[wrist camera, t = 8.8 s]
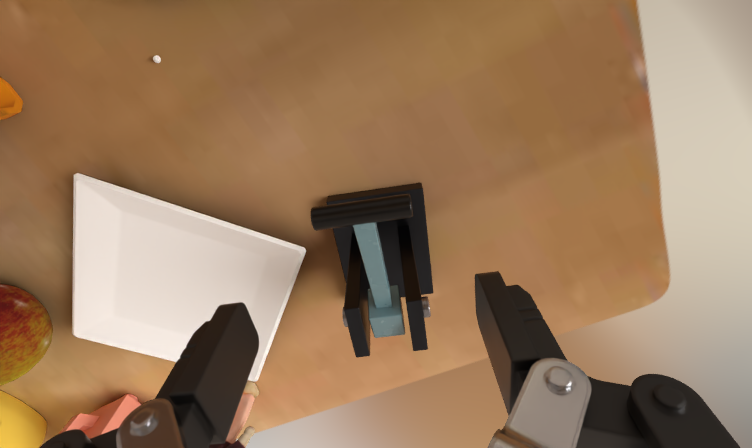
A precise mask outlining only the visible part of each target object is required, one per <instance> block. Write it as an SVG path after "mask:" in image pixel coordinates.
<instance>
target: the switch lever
mask: <svg viewBox="0 0 752 448" xmlns="http://www.w3.org/2000/svg"><path fill="white" fill-rule="evenodd" d="M412 216H413V212H412V204H411V197H410V194H402V195H395V196H388V197H381V198H374V199H367V200H360V201H353V202H346V203H340V204H333V205H326V206H319V207H313V208H312V209H311V222H312V226H313V228H314V230H316V231H318V230H325V229H332V228H339V227H347V226H353V228H354V231H355V235H356V239H357V242H358V246H359V249H360V253H361V256H362V260H363V263H364V267H365V270H366V274H367V277H368V281H369V285H370V289H368V290H367V293H368V316H369V321H370V325H371V328H372V331H373V334H374V337H375V338H379V337H387V336H396V335H404V334H405V327H404V318H403V309H402V302H401V297H400V291H399V286H398V285H394V286H389V281H388V276H387V272H386V267H385V262H384V257H383V253H382V248H381V243H380V239H379V234H378V229H377V224H376V222H383V221H390V220H397V219H404V218H411V217H412Z"/></svg>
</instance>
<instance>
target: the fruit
mask: <svg viewBox="0 0 752 448" xmlns="http://www.w3.org/2000/svg"><path fill="white" fill-rule="evenodd" d="M52 333H53V328H52V323H51V320H50V317H49V315H48V312H47V310H46V309H45V307H44V306H43V305H42V304H41V303H40V302H39V301H38V300H37V299H36V298H35V297H34V296H33V295H31V294H29V293H28V292H26V291H25V290H22V289H20V288H17V287H14V286H10V285H5V284H0V386H1V385H4V384H6V383H9V382H11V381H14V380H15V379H17V378H19V377H20V376H22V375H24V374H25V373H27V372H28V371H29V370H30V369H32V368H33V367H34V366H35V365H36V364H37V363H38V362H39V361H40V360H41V358H42V357H43V356H44V355H45V353H46V351H47V350H48V347H49V345H50V343H51V340H52Z"/></svg>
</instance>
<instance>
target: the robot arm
mask: <svg viewBox="0 0 752 448" xmlns="http://www.w3.org/2000/svg"><path fill="white" fill-rule="evenodd" d="M475 297H476V315H477V320H478V325H479V328H480V331H481V334H482V337H483V340H484V343H485V346H486V349H487V352H488V355H489V358H490V361H491V364H492V367H493V370H494V373H495V376H496V379H497V382H498V385H499V388H500V391H501V394H502V397H503V400H504V403H505V406H506V409H507V412H508V415H509V417H508V420H507V422H506V424H505V426H504V428H503V429H502V430H500V429H498V430H497V431H496V433H495V434H494V436H493V437H492V440H491V441H490V444H489V446H488V448H740V447H739V445H738V444H737V443H736V441H735V440H734V439H733V438H732V436H731V435H730V434H729V432H728V431H727V430H726V429H725V427H724V426H723V425H722V424H721V422H720V421H719V420H718V419H717V417H716V416H715V415H714V413H713V412H712V411H711V410H710V408H709V407H708V406H707V405H706V403H705V402H704V401H703V399H702V398H701V397H700V396H699V395H698V394H697V393H696V392H695V391H694V390H693V389H691V388H690V387H689V386H687V385H685V384H684V383H682V382H680V381H678V380H676V379H674V378H671V377H668V376H664V375H658V374H646V375H642V376H639V377H638V378H636V379H635V380H634V381H633V383H632V385H631V386H628V385H622V384H616V383H610V382H604V381H600V380H596V379H593V378H591V377H588V376H586V374H585V373H584V372H583V371H582V370H581V369H580V368H579V367H577V366H576V365H574V364H572V363H570V362H568V361H567V359H566V358H565V356H564V354H563V352H562V350H561V349H560V347H559V345H558V343H557V342H556V340H555V338H554V336H553V334H552V333H551V331H550V329H549V327H548V326H547V324H546V322H545V320H544V319H543V317H542V315H541V313H540V311H539V309H537V306H536V304H535V302H534V301H533V299H532V297H531V295H530V294H529V293H528V292H526V291H525V290H524V289H522V288H521V287H520V286H519V285H512V286H506V285H505V283H504V281H503V279H502V277H501V275H500V273H499V272H498V271H497V272H488V273H480V274H476V275H475ZM258 349H259V336H258V333H257V330H256V328H255V326H254V324H253V321H252V319H251V317H250V314H249V312H248V310H247V307H246V305H245V304H244V303H242V302H239V303H231V304H223V305H220V306H218V308H217V309H216V311H215V313H214V315H213V317H212V318H211V320H210V321H206V322H205V323H204V324H203V325H202V326H201V327H200V328H198V329H197V330H196V331H195V332H194V333H193V335H192V337H191V338H190V340H189V342H188V344H187V345H186V348H185V349H184V350H183V352H182V354H181V355H180V359H178V361H177V362H176V364H175V366H174V367H173V369H172V371H171V372H170V374H169V376H168V378H167V379H166V381H165V383H164V384H163V386H162V388H161V389H160V391H159V393H158V394H157V396H156V398H155V399H153V400H150V401H148V402H145V403H143V404H142V405H140V406H138V407H137V408H136V409H134V410H133V411H132V412H131V413H130V414H129V415H128V416H127V417H126V418H125V419H124V420H123V422H122V423H121V425H120V426H119V428H117V429H114V430H112V431H109V432H106V433H104V434H101V435H99V436H96V437H93V438H91V439H89V438H88V436H87V435H86V434H85V433H84V432H83V431H81V430H79V429H72V430H68V431H65V432H62V433H60V434H58V435H56V436H55V437H53V438H51V439H50V440H48V441H47V442H46V443H44V444H43V445H42V446H41V447H40V448H209V445H211V444H222V443H225V441H226V439H227V436H228V433H229V430H230V428H231V425H232V422H233V419H234V416H235V414H236V411H237V408H238V405H239V403H240V400H241V397H242V394H243V392H244V389H245V386H246V383H247V381H248V378H249V375H250V372H251V369H252V367H253V364H254V361H255V358H256V356H257V353H258Z"/></svg>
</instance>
